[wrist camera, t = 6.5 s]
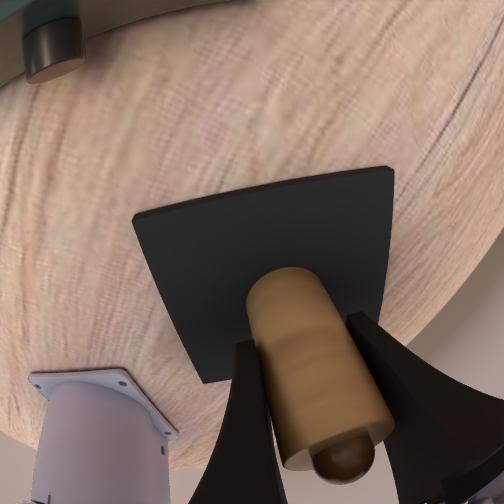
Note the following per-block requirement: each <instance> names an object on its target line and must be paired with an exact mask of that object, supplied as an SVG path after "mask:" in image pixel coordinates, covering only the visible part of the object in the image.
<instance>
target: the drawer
mask: <svg viewBox="0 0 504 504" xmlns="http://www.w3.org/2000/svg"><path fill="white" fill-rule="evenodd" d="M222 1H230V0H0V87H1V86H2V85H4V84H5V83H7V82H8V81H10V80H11V79H13V78H14V77H16V76H18V75H19V74H21V73H22V72H24V71H25V74H26V81H27V83H28V84H37V83H41V82H45V81H48V80H51V79H54V78H57V77H59V76H62V75H64V74H66V73H68V72H70V71H72V70H74V69H76V68H78V67H79V66H81V65H82V64H84V63H85V61H86V54H85V47H84V41H83V40H86V39H88V38H90V37H93V36H95V35H97V34H100V33H103V32H105V31H108V30H110V29H113V28H116V27H119V26H122V25H124V24H127V23H130V22H134V21H137V20H140V19H143V18H147V17H150V16H154V15H157V14H161V13H165V12H169V11H173V10H178V9H182V8H187V7H192V6H197V5H203V4H209V3H215V2H222Z"/></svg>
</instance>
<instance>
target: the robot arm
mask: <svg viewBox="0 0 504 504" xmlns="http://www.w3.org/2000/svg"><path fill="white" fill-rule="evenodd" d="M346 327H347V329H348V331H349V333H350V334H351V336H352V338H353V340H354V342H355V344H356V346H357V348H358V349H359V351H360V353H361V355H362V357H363V359H364V361H365V363H366V365H367V366H368V368H369V370H370V372H371V374H372V376H373V378H374V380H375V382H376V384H377V386H378V388H379V390H380V392H381V394H382V396H383V398H384V400H385V402H386V404H387V406H388V408H389V410H390V412H391V414H392V416H393V418H394V420H395V428H394V430H393V431H392V432H391V434H390V435H389V436H388V437H386V438H385V439H384V440H383V441H384V444H385V448H386V451H387V454H388V457H389V461H390V464H391V468H392V472H393V476H394V480H395V484H396V489H397V494H398V499H399V504H424V503H427V504H464V503H466V502H467V501H468V504H504V400H503V399H499V398H496V397H493V396H490V395H488V394H485V393H482V392H480V391H478V390H475V389H473V388H471V387H469V386H467V385H464V384H462V383H460V382H458V381H456V380H455V379H453V378H451V377H449V376H447V375H445V374H444V373H442V372H440V371H439V370H437V369H435V368H434V367H433V366H431V365H429V364H428V363H427V362H425V361H424V360H422V359H421V358H419V357H418V356H417V355H415V354H414V353H412V352H411V351H410V350H409V349H407V348H406V347H405V346H404V345H402V344H401V343H400V342H398V341H397V340H396V339H395V338H393V337H392V336H391V335H390V334H389V333H387V332H386V331H385V330H384V329H383V328H382V327H380V326H379V325H378V324H377V323H376V322H375V321H373V320H372V319H371V318H370V317H369V316H368V315H367V314H365V313H364V312H363V311H359V312H356V313H353V314H349V315H347V318H346ZM234 346H235V356H234V369H233V376H232V383H231V388H230V394H229V399H228V403H227V407H226V411H225V415H224V419H223V423H222V426H221V429H220V433H219V436H218V439H217V442H216V445H215V447H214V450H213V453H212V455H211V458H210V460H209V463H208V465H207V467H206V470H205V472H204V474H203V477H202V478H201V480H200V482H199V484H198V486H197V488H196V490H195V492H194V494H193V496H192V498H191V500H190V501H189V503H188V504H288V503H287V499H286V496H285V492H284V487H283V483H282V479H281V475H280V471H279V467H278V463H277V459H276V453H275V448H274V441H273V433H272V425H271V418H270V412H269V408H268V403H267V399H266V395H265V390H264V384H263V377H262V370H261V366H260V362H259V357H258V353H257V348H256V344H255V340H254V339H251V340H247V341H242V342H237V343H236V344H235V345H234ZM28 380H29V382H30V383H31V384H32V385H33V386H34V387H35V388H36V389H37V390H38V391H39V392H40V393H41V394H42V395H43V396H44V397H45V398H46V399H47V400H48V401H49V402H48V406H47V410H46V414H45V418H44V422H43V426H42V431H41V435H40V440H39V445H38V450H37V456H36V462H35V468H34V475H33V482H32V490H31V501H33V502H34V503H32V502H27V501H23V504H170V486H169V463H168V441H170V440H178V439H179V434H178V432H177V431H176V430H175V429H174V428H173V427H172V426H171V425H170V424H169V423H168V422H167V421H166V419H165V418H164V417H163V416H162V415H161V414H160V413H159V412H158V410H157V409H156V408H155V407H154V406H153V405H152V403H151V402H150V401H149V400H148V399H147V397H146V396H145V395H144V394H143V393H142V391H141V390H140V389H139V388H138V386H137V385H136V384H135V383H134V381H133V380H132V379H131V377H130V376H129V375H128V373H126V372H125V371H124V370H122V369H109V370H97V371H84V372H67V373H38V374H30V375H29V377H28ZM17 504H20V503H17Z"/></svg>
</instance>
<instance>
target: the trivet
mask: <svg viewBox="0 0 504 504" xmlns="http://www.w3.org/2000/svg"><path fill="white" fill-rule="evenodd" d="M393 199H394V169H392V168H390V167H388V166H382V167H373V168H366V169H358V170H351V171H344V172H337V173H330V174H324V175H318V176H311V177H305V178H299V179H294V180H288V181H282V182H277V183H271V184H266V185H261V186H256V187H251V188H246V189H241V190H236V191H231V192H226V193H222V194H217V195H212V196H208V197H203V198H199V199H195V200H190V201H186V202H182V203H178V204H174V205H170V206H165V207H161V208H157V209H154V210H150V211H146V212H142V213H138V214H135V215H134V217H133V219H132V224H133V227H134V229H135V232H136V235H137V238H138V240H139V243H140V246H141V248H142V251H143V253H144V256H145V259H146V261H147V264H148V266H149V269H150V271H151V274H152V276H153V278H154V281H155V283H156V286H157V288H158V290H159V293H160V295H161V297H162V300H163V302H164V304H165V306H166V309H167V311H168V313H169V315H170V318H171V320H172V322H173V324H174V326H175V328H176V331H177V333H178V335H179V337H180V339H181V341H182V343H183V345H184V347H185V349H186V351H187V353H188V355H189V357H190V359H191V361H192V363H193V365H194V367H195V369H196V371H197V373H198V375H199V377H200V379H201V380H202V382H203V384H207V383H213V382H219V381H224V380H230V379H232V376H233V369H234V356H235V346H234V345H235V344H236V343H237V342H242V341H247V340H251V339H253V337H252V332H251V328H250V323H249V319H248V314H247V309H246V300H247V296H248V293H249V291H250V290H251V288H252V287H253V285H254V284H255V283H256V282H257V281H258V280H259V279H260V278H261V277H263V276H264V275H266V274H268V273H270V272H272V271H274V270H277V269H280V268H285V267H299V268H304V269H307V270H309V271H311V272H313V273H314V274H315V275H316V276H317V277H318V278H319V279H320V281H321V282H322V284H323V286H324V288H325V289H326V291H327V293H328V295H329V296H330V298H331V300H332V302H333V304H334V305H335V307H336V309H337V311H338V313H339V314H340V316H341V318H342V320H343V322H344V323H345V325H346V318H347V315H349V314H353V313H356V312H359V311H363V312H364V313H365V314H367V315H368V316H369V317H370V318H371V319H372V320H373V321H375V322H376V323H377V324H378V321H379V316H380V311H381V305H382V299H383V293H384V287H385V280H386V273H387V265H388V257H389V248H390V239H391V228H392V215H393Z"/></svg>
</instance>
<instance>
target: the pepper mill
mask: <svg viewBox="0 0 504 504" xmlns="http://www.w3.org/2000/svg"><path fill="white" fill-rule="evenodd" d="M246 309H247V314H248V319H249V323H250V328H251V332H252V337H253V339H254V340H255V344H256V348H257V353H258V357H259V362H260V366H261V370H262V377H263V384H264V390H265V395H266V399H267V403H268V408H269V412H270V416H271V421H272V425H273V429H274V433H275V438H276V442H277V446H278V450H279V454H280V458H281V462H282V465H283V467H284V468H286V469H288V470H292V471H293V470H294V471H305V470H306V471H307V470H314V471H315V473H316V474H317V475H318V476H319V477H320V478H321V479H322V480H324V481H326V482H328V483H331V484H337V485H338V484H339V485H342V484H348V483H352V482H354V481H356V480H358V479H360V478H361V477H363V476H364V475H365V474H366V473H367V472H368V471H369V469H370V467H371V466H372V464H373V461H374V457H375V448H374V446H376V445H377V444H379V443H380V442H382V441H383V440H384V439H385V438H386V437H388V436H389V435H390V434H391V432H392V431H393V430H394V428H395V420H394V418H393V416H392V414H391V412H390V410H389V408H388V406H387V404H386V402H385V400H384V398H383V396H382V394H381V392H380V390H379V388H378V386H377V384H376V382H375V380H374V378H373V376H372V374H371V372H370V370H369V368H368V366H367V365H366V363H365V361H364V359H363V357H362V355H361V353H360V351H359V349H358V348H357V346H356V344H355V342H354V340H353V338H352V336H351V334H350V333H349V331H348V329H347V327H346V325H345V323H344V322H343V320H342V318H341V316H340V314H339V313H338V311H337V309H336V307H335V305H334V304H333V302H332V300H331V298H330V296H329V295H328V293H327V291H326V289H325V288H324V286H323V284H322V282H321V281H320V279H319V278H318V277H317V276H316V275H315V274H314V273H313V272H311V271H309V270H307V269H304V268H299V267H285V268H280V269H277V270H274V271H272V272H270V273H268V274H266V275H264V276H263V277H261V278H260V279H259V280H258V281H257V282H256V283H255V284H254V285H253V287H252V288H251V290H250V291H249V293H248V296H247V300H246Z"/></svg>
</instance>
